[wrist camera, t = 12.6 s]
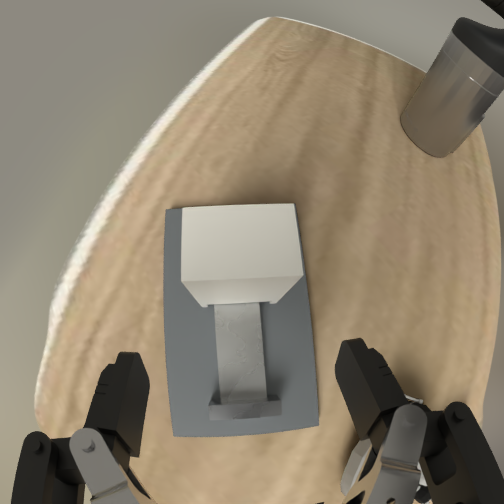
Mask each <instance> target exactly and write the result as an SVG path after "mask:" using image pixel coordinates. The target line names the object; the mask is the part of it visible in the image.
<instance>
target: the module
mask: <svg viewBox="0 0 504 504" xmlns="http://www.w3.org/2000/svg"><path fill="white" fill-rule="evenodd" d="M302 276H303V267H302V259H301V251H300V243H299V236H298V229H297V222H296V215H295V208H294V204H250V205H223V206H202V207H184V208H182V238H181V282H182V283H183V284H184V286H185V287H186V288H187V289H188V291H189V292H190V293H191V294H192V296H193V297H194V298H195V299H196V301H197V302H198V303H199V304H200V306H201V307H208V305H209V304H232V303H251V302H267V301H270V304H274V303H277V302H278V301H279V300H280V299H281V298H282V297H283V296H284V295H285V294H286V293H287V292H288V291H289V290H290V289H291V288H292V287H293V286H294V285H295V283H296V282H297V281H298V280H299V279H300V278H301V277H302Z"/></svg>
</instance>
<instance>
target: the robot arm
mask: <svg viewBox="0 0 504 504" xmlns="http://www.w3.org/2000/svg"><path fill="white" fill-rule="evenodd" d="M481 1H482V2H484V3H485V4H486V5H487V6H489V7H490V8H491V9H492V10H494V11H495V12H496V13H497V14H499V15H500V16H501V17H502V18H503V19H504V0H481ZM503 90H504V29H497V28H492V27H488V26H485V25H483V24H480V23H478V22H475V21H473V20H470V19H468V18H464V17H461V18H459V19H458V20H457V21H456V23H455V25H454V26H453V28H452V30H451V32H450V34H449V36H448V37H447V39H446V41H445V43H444V45H443V47H442V48H441V50H440V52H439V54H438V55H437V57H436V59H435V61H434V62H433V64H432V66H431V68H430V69H429V71H428V72H427V74H426V76H425V77H424V79H423V81H422V82H421V84H420V86H419V87H418V89H417V91H416V92H415V94H414V96H413V97H412V99H411V100H410V102H409V104H408V105H407V107H406V109H405V110H404V112H403V113H402V115H401V124H402V127H403V129H404V130H405V132H406V134H407V135H408V136H409V138H410V139H411V140H412V141H413V142H414V143H415V144H416V145H417V146H418V147H419V148H421V149H422V150H424V151H425V152H427V153H428V154H430V155H432V156H435V157H439V158H441V157H445V156H447V155H448V154H449V153H453V152H454V151H455V150H456V149H457V148H458V147H459V146H460V145H461V144H462V143H463V141H464V140H465V139H466V138H467V137H468V136H469V135H470V134H471V133H472V132H473V130H474V129H475V128H476V127H477V126H478V125H479V124H480V122H481V121H482V120H483V119H484V117H485V114H484V113H485V112H486V111H487V110H488V108H489V107H490V106H491V104H493V102H494V101H495V100H496V98H497V97H498V96H499V95H500V93H501V92H502V91H503ZM335 376H336V379H337V382H338V384H339V387H340V389H341V392H342V394H343V397H344V399H345V402H346V405H347V407H348V410H349V412H350V415H351V417H352V420H353V423H354V425H355V428H356V431H357V433H358V436H359V439H360V441H363V440H366V439H370V441H371V445H370V448H369V450H368V453H367V455H366V458H365V460H364V463H363V465H362V467H361V470H360V472H359V474H358V476H357V479H356V481H355V483H354V485H353V486H352V488H351V489H350V490H349V492H348V493H347V495H346V497H345V498H344V500H343V502H342V504H412V503H413V501H414V498H415V495H416V492H417V488H418V485H419V482H420V478H421V471H420V470H419V469H418V468H417V466H418V462H419V464H420V467H421V470H422V473H423V475H424V478H425V481H426V484H427V487H428V490H429V493H430V496H431V499H432V502H433V504H504V479H503V476H502V474H501V471H500V469H499V467H498V464H497V462H496V460H495V458H494V455H493V453H492V451H491V449H490V447H489V445H488V443H487V441H486V439H485V436H484V435H483V432H482V430H481V428H480V427H479V425H478V423H477V421H476V419H475V417H474V415H473V413H472V411H471V410H470V408H469V407H468V406H467V405H466V404H464V403H462V402H453V403H451V404H449V405H448V406H447V407H446V409H445V410H444V411H430V412H424V411H423V410H422V409H421V408H420V407H418V406H416V405H411V404H410V403H409V402H408V400H407V398H406V396H405V395H404V393H403V391H402V389H401V387H400V385H399V384H398V382H397V380H396V378H395V377H394V375H392V371H391V370H390V368H389V367H388V364H387V363H386V361H385V359H384V357H383V356H382V355H381V354H380V353H379V352H377V351H376V350H375V349H374V348H371V349H368V348H367V346H366V344H365V342H364V341H363V339H362V338H356V339H350V340H344V341H343V342H342V343H341V347H340V350H339V354H338V357H337V361H336V364H335ZM149 389H150V383H149V377H148V374H147V372H146V369H145V367H144V364H143V362H142V359H141V356H140V354H139V353H138V352H120V353H119V354H118V356H117V359H116V362H115V364H108V365H107V367H106V368H105V369H104V370H103V371H102V372H101V375H100V378H99V381H98V386H97V387H96V390H95V394H94V396H93V399H92V402H91V405H90V409H89V412H88V415H87V419H86V422H85V425H84V427H83V428H82V429H79V430H77V431H76V432H75V433H74V434H73V435H72V437H69V438H57V439H50V438H49V437H48V436H47V435H46V434H44V433H42V432H39V431H35V432H32V433H30V434H28V435H27V437H26V438H25V440H24V443H23V446H22V450H21V454H20V458H19V462H18V466H17V471H16V476H15V481H14V487H13V492H12V499H11V504H83V502H84V491H85V484H87V486H88V488H89V490H90V492H91V494H92V498H91V499H90V501H91V504H157V503H156V502H155V500H154V499H153V498H152V497H151V495H150V494H149V493H148V491H147V490H146V489H145V487H144V486H143V484H142V483H141V482H140V480H139V479H138V477H137V476H136V474H135V473H134V471H133V470H132V468H131V467H130V465H129V461H130V456H131V457H139V454H140V446H141V439H142V432H143V425H144V419H145V413H146V407H147V401H148V395H149ZM317 504H324V502H322V503H317Z"/></svg>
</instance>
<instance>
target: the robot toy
mask: <svg viewBox="0 0 504 504" xmlns="http://www.w3.org/2000/svg"><path fill="white" fill-rule="evenodd" d="M404 395H405V394H404ZM405 396H406V395H405ZM406 398H407V399H410V400H413V401H415V402H412V401H408V402H409V403H410V404H411V405H416V406H418V407H420V408H421V409H422V410H423V411H424V412H430V411H431V410H430V409H429V408H428V407H427V406H426V405H424V404H422V403H423V400H421V399H415V398H412V397H409V396H406ZM370 445H371V441H370V439H366V440H363V441H359V442H358V444H357V445H356V446H355V448H354V449H353V451H352V453H351V456H350V458H349V460H348V463H347V465H346V467H345V470H344V473H343V476H342V479H341V492H342V493H343V494H344V495H345V496H346V495H347V493H348V492H349V490H350V489H351V488H352V486H353V485H354V483H355V481H356V479H357V476H358V474H359V472H360V470H361V467H362V465H363V463H364V460H365V458H366V455H367V453H368V450H369V448H370ZM417 468H418V469H419V470H420V471H421V478H420V482H419V485H418V488H417V492H416V495H415V498H414V499H415V500H416V501H418V502H419V503H421V504H429V503H430V502H429V501H430V500H431V501H432V499H431V496H430V493H429V490H428V487H427V484H426V481H425V478H424V475H423V473H422V470H421V467H420V464H419V462H418V466H417ZM420 484H421V485H420Z"/></svg>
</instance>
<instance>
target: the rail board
mask: <svg viewBox="0 0 504 504" xmlns="http://www.w3.org/2000/svg"><path fill="white" fill-rule="evenodd" d="M294 208H295V215H296V222H297V229H298V236H299V243H300V251H301V259H302V267H303V276H302V277H301V278H300V279H299V280H298V281H297V282H296V283H295V285H294V286H293V287H292V288H291V289H290V290H289V291H288V292H287V293H286V294H285V295H284V296H283V297H282V298H281V299H280V300H279V301H278V302H277V303H274V304H270V301H267V302H259V305H260V318H261V330H262V342H263V354H264V367H265V379H266V392H267V396H268V395H277V396H278V397H279V398H280V400H281V406H282V415H279V416H270V417H261V418H249V419H235V420H210V418H209V409H208V405H209V402H210V400H211V399H221V397H220V385H219V373H218V360H217V346H216V331H215V314H214V304H209V305H208V307H201V306H200V304H199V303H198V302H197V301H196V299H195V298H194V297H193V296H192V294H191V293H190V292H189V291H188V289H187V288H186V287H185V286H184V284H183V283H182V282H181V238H182V208H180V209H166V215H165V235H164V333H165V353H166V368H167V381H168V392H169V402H170V412H171V420H172V428H173V436H176V437H225V436H243V435H256V434H266V433H275V432H283V431H290V430H296V429H303V428H308V427H314V426H319V415H318V398H317V383H316V370H315V358H314V346H313V336H312V326H311V316H310V307H309V298H308V290H307V282H306V274H305V266H304V258H303V251H302V244H301V237H300V230H299V224H298V217H297V211H296V204H294Z"/></svg>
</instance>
